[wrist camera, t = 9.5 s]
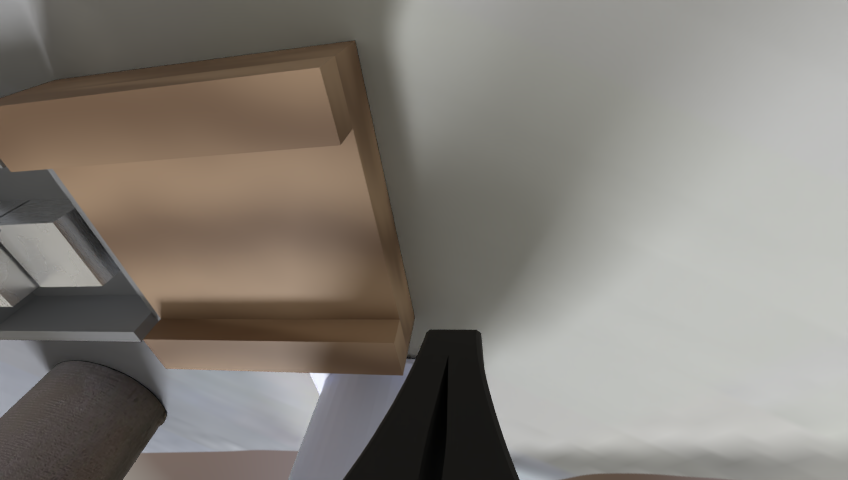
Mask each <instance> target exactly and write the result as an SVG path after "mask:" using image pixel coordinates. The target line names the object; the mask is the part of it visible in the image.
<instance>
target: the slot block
mask: <svg viewBox="0 0 848 480" xmlns="http://www.w3.org/2000/svg"><path fill="white" fill-rule="evenodd" d="M0 159H1V160H2V161H3V163H4V164H5V165H6V166H7V168H8V169H9V170H10V171H11V172H19V171H31V170H44V169H53V170H54V171H55V173H56V174H57V175H58V177H59V178H60V180H61V181H62V182H63V184H64V185H65V187H66V188H67V189H68V191H69V192H70V194H71V195H72V196H73V198H74V199H75V200H76V202H77V203H78V205H79V206H80V207H81V209H82V210H83V212H84V213H85V214H86V216H87V217H88V219H89V220H90V221H91V223H92V224H93V225H94V227H95V228H96V230H97V231H98V232H99V234H100V235H101V237H102V238H103V239H104V241H105V242H106V244H107V245H108V246H109V248H110V249H111V250H112V252H113V253H114V255H115V256H116V257H117V259H118V260H119V262H120V263H121V264H122V266H123V267H124V269H125V270H126V271H127V273H128V274H129V275H130V277H131V278H132V280H133V281H134V282H135V284H136V285H137V287H138V288H139V289H140V291H141V292H142V294H143V295H144V296H145V298H146V299H147V300H148V302H149V303H150V305H151V306H152V307H153V309H154V310H155V312H156V313H157V314H158V316H159V317H160V318H161V319H160V320H159V321H158V323H157V324H156V325H155V326H154V327H153V328H152V329H151V331H150V332H149V333H148V334H147V335H146V336H145V338H144V339H143V340H144V341H145V343H146V344H147V345H148V347H149V348H150V349H151V350H152V352H153V353H154V354H155V355H156V357H157V358H158V359H159V361H160V362H161V363H162V364H163V366H164V367H165V368H166V369H196V370H230V371H264V372H298V373H332V374H366V375H400V376H403V373H404V368H405V363H406V358H407V353H408V348H409V343H410V339H411V334H412V329H413V324H414V319H415V316H414V312H413V307H412V302H411V298H410V293H409V289H408V284H407V279H406V275H405V270H404V265H403V261H402V256H401V251H400V247H399V242H398V238H397V233H396V228H395V224H394V219H393V214H392V210H391V205H390V200H389V196H388V191H387V186H386V182H385V177H384V173H383V168H382V163H381V159H380V154H379V149H378V145H377V140H376V135H375V131H374V126H373V122H372V117H371V112H370V108H369V103H368V98H367V94H366V89H365V84H364V80H363V75H362V71H361V66H360V61H359V57H358V52H357V47H356V43H355V41H347V42H340V43H332V44H325V45H317V46H310V47H302V48H294V49H287V50H279V51H272V52H264V53H256V54H249V55H241V56H234V57H226V58H218V59H211V60H203V61H196V62H188V63H180V64H173V65H165V66H158V67H150V68H142V69H135V70H127V71H120V72H112V73H104V74H97V75H89V76H82V77H74V78H66V79H59V80H54V81H50V82H47V83H44V84H41V85H38V86H35V87H32V88H29V89H26V90H23V91H20V92H17V93H14V94H11V95H8V96H5V97H2V98H0Z"/></svg>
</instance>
